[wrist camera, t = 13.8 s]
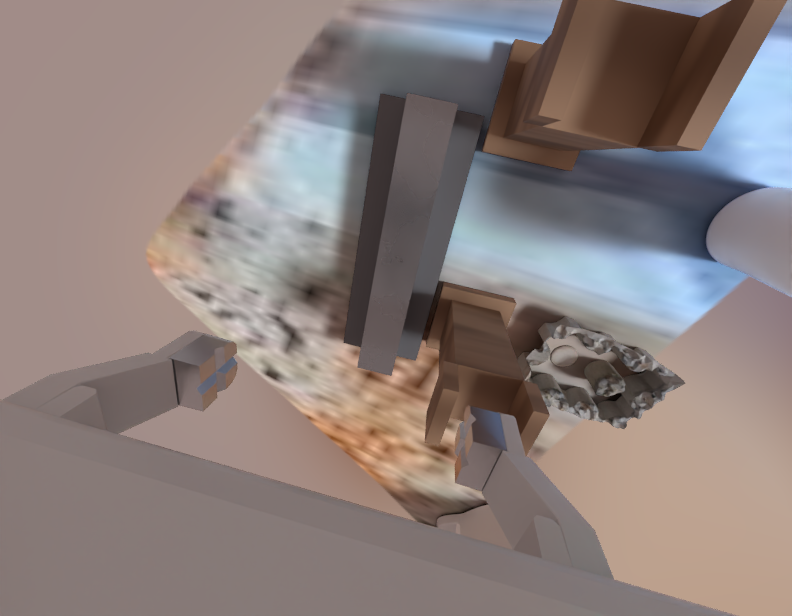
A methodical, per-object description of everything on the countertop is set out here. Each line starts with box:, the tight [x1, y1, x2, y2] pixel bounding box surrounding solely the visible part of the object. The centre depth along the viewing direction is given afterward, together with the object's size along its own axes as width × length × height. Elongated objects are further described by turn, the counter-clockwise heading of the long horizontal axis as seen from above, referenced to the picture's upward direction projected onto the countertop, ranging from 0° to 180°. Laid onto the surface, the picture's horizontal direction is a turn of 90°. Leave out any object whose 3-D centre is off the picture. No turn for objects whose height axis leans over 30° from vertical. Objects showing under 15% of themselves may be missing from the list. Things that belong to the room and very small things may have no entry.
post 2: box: [481, 0, 787, 171], centre depth 15 cm, size 6×6×12 cm
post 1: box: [425, 282, 549, 456], centre depth 22 cm, size 6×6×12 cm
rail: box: [358, 93, 458, 376], centre depth 24 cm, size 20×3×3 cm, turn 168°
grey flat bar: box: [344, 94, 484, 360], centre depth 26 cm, size 20×7×1 cm, turn 169°
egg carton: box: [517, 316, 685, 429], centre depth 26 cm, size 11×8×4 cm
